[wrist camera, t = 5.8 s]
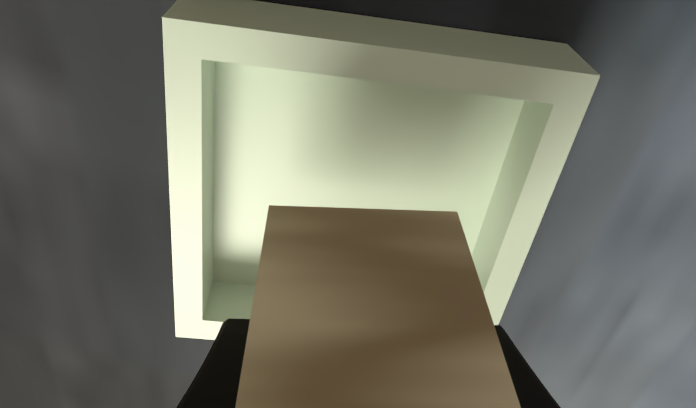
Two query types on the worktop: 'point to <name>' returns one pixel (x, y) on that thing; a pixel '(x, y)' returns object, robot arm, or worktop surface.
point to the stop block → (370, 315)
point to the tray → (353, 136)
